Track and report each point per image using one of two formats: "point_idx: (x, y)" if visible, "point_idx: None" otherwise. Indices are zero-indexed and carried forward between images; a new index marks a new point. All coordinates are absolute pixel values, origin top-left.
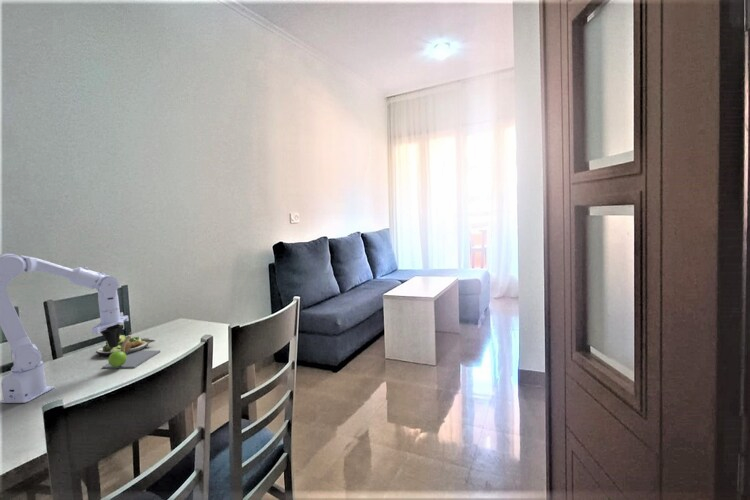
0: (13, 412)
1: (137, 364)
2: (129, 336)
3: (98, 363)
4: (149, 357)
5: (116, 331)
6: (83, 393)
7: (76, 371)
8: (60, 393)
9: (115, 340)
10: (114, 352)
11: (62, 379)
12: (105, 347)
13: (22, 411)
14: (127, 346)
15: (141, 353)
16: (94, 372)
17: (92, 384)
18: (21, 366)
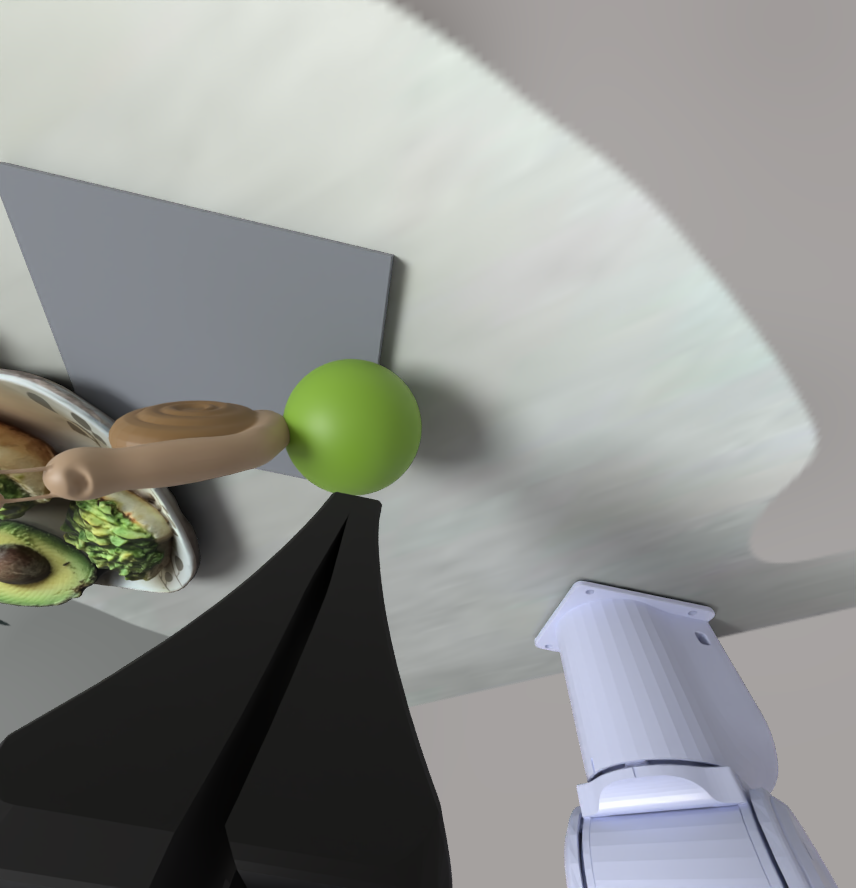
0: (792, 609)
1: (346, 249)
2: (75, 469)
3: (288, 527)
4: (174, 204)
5: (325, 756)
6: (763, 427)
7: (384, 573)
8: (670, 535)
9: (365, 567)
10: (353, 478)
11: (472, 586)
12: (138, 574)
13: (811, 588)
14: (210, 419)
15: (112, 333)
16: (417, 498)
17: (621, 436)
18: (815, 849)
